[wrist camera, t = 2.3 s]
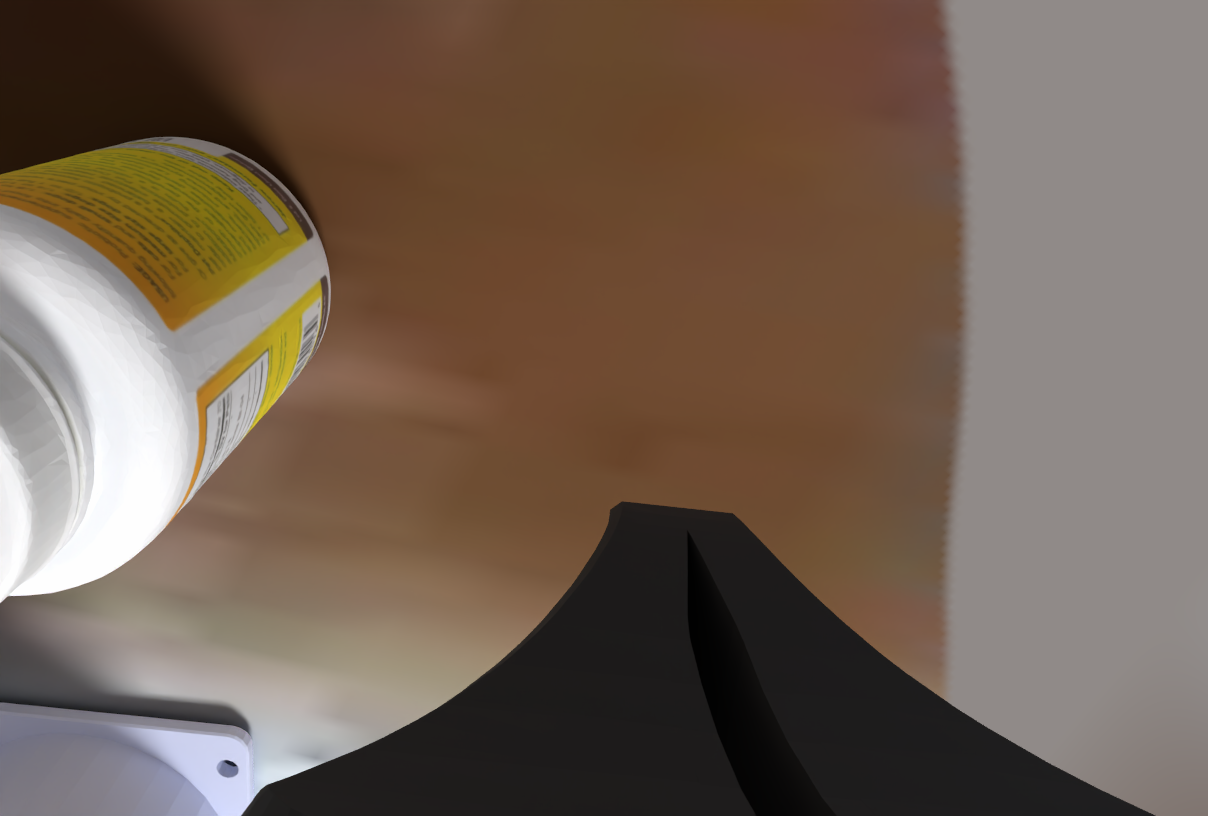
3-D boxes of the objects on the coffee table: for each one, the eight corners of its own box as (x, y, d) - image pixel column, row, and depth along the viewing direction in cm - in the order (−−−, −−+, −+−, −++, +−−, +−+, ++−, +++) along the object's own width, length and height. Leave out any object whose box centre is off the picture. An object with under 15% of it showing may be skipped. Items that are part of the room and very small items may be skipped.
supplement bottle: (29, 148, 20) (-528, 266, 10) (308, 118, 19) (10, 209, 10) (108, 414, 22) (-293, 722, 12) (362, 389, 21) (158, 685, 12)
